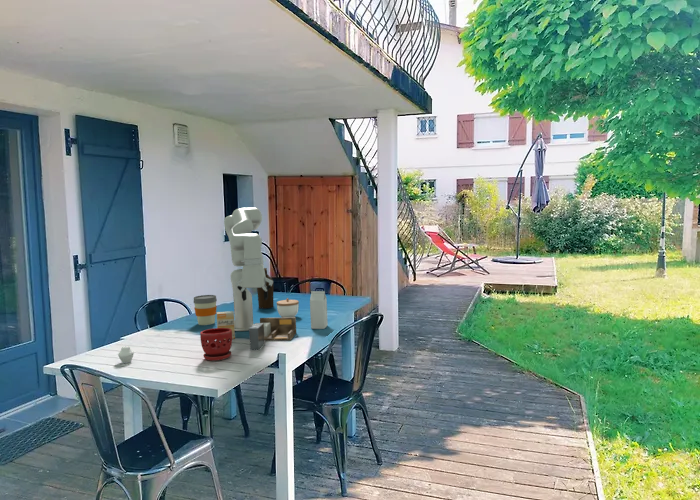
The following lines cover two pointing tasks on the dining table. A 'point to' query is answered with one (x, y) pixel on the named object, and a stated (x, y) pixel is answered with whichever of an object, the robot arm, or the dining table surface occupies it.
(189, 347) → the dining table surface
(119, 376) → the dining table surface
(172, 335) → the dining table surface
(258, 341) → the panel
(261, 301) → the olive oil
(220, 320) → the supplement box
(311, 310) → the milk carton
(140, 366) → the dining table surface
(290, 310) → the lidded bowl
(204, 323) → the reusable coffee cup
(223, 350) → the plant pot
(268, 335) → the rack
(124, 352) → the white faceted vase
